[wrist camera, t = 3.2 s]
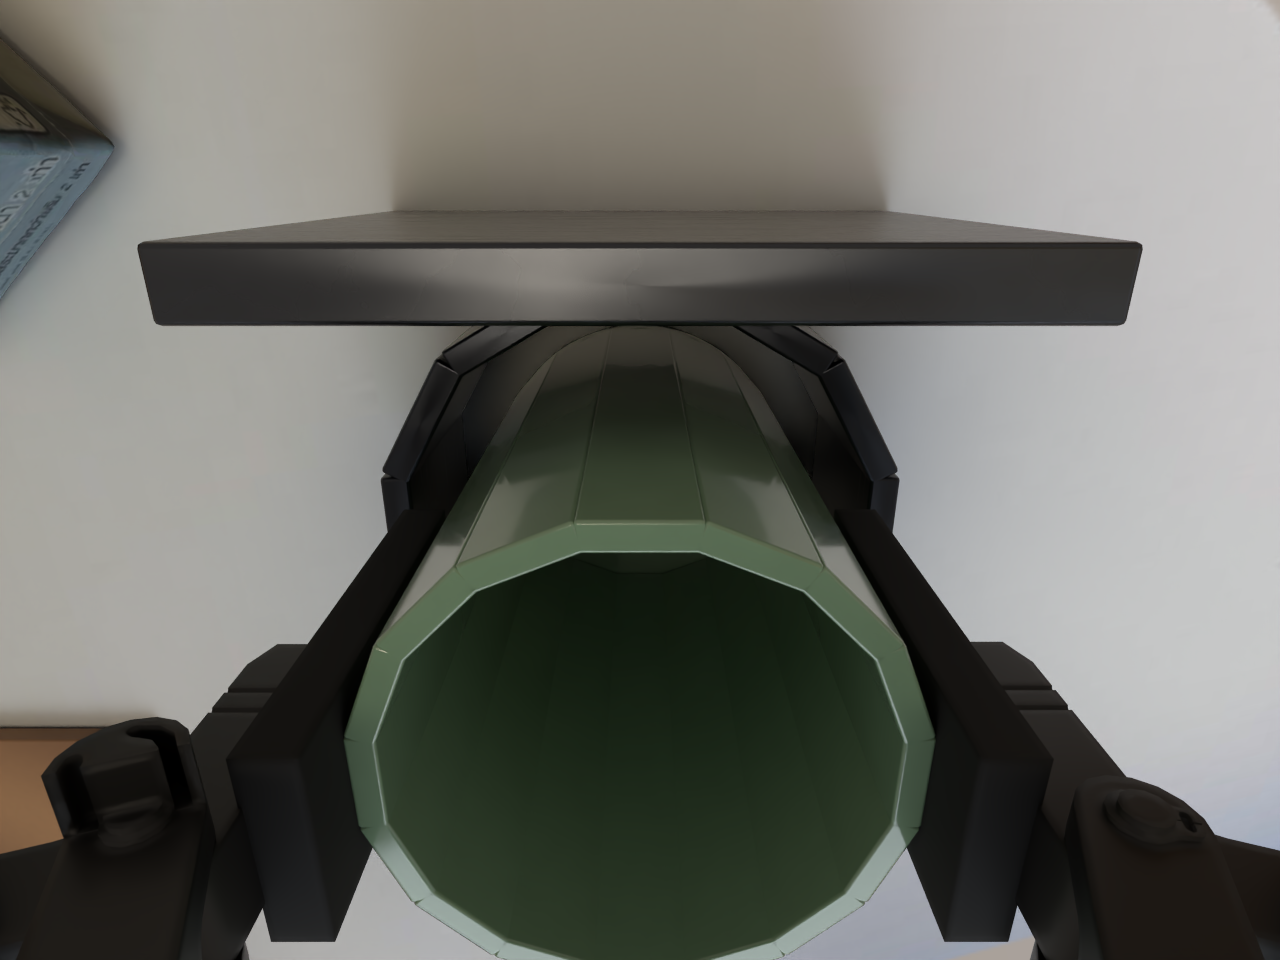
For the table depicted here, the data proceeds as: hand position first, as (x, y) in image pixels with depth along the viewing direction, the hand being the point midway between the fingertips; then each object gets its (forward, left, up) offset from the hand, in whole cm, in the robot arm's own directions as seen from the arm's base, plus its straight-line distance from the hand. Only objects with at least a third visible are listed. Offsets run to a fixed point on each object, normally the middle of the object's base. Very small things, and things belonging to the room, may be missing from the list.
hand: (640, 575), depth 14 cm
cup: (0, 0, -7) cm, 7 cm away
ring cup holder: (0, 0, -7) cm, 7 cm away
